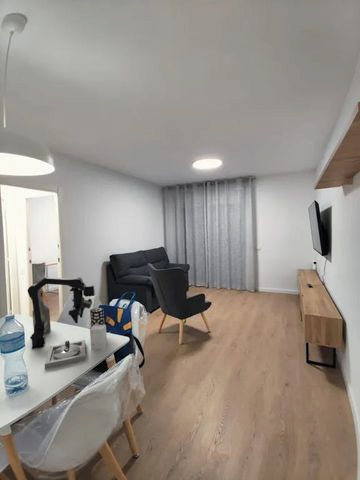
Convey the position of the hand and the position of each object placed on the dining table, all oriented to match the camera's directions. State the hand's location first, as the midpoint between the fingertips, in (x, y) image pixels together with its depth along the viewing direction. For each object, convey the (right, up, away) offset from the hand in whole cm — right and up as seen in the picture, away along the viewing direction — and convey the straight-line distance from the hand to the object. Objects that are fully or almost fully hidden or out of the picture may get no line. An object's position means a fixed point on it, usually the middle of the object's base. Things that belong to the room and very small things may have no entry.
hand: (79, 320), depth 158 cm
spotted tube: (+12, -13, +2) cm, 18 cm away
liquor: (-32, -14, +14) cm, 38 cm away
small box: (+16, -14, -8) cm, 23 cm away
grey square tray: (0, -15, -17) cm, 23 cm away
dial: (0, -13, -17) cm, 22 cm away
